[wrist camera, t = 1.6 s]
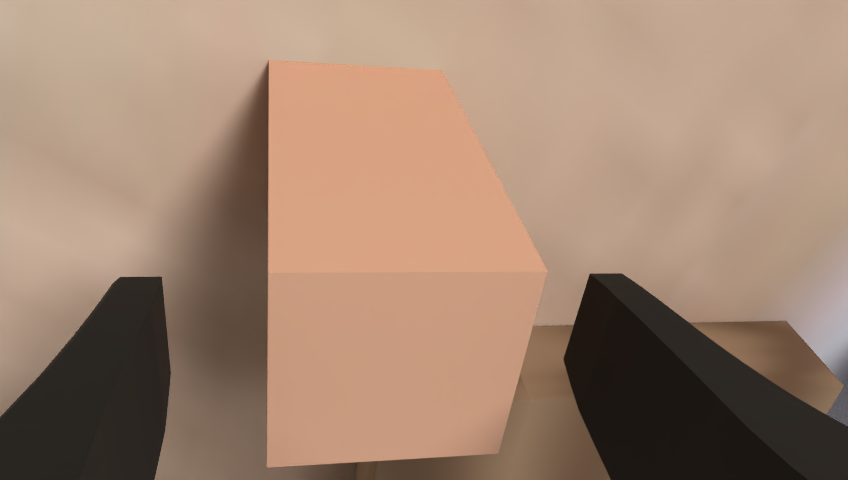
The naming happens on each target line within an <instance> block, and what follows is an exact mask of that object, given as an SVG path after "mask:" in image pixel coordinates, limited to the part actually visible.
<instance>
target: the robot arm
mask: <svg viewBox="0 0 848 480" xmlns="http://www.w3.org/2000/svg"><path fill="white" fill-rule="evenodd" d="M563 360H564V364H565V367H566V371H567V374H568V378H569V381H570V385H571V388H572V391H573V394H574V397H575V400H576V403H577V406H578V410H579V412H580V414H581V416H582V419H583V421H584V423H585V425H586V427H587V430H588V432H589V434H590V436H591V438H592V441H593V443H594V445H595V447H596V449H597V451H598V454H599V456H600V458H601V460H602V462H603V464H604V466H605V468H606V471H607V473H608V475H609V477H610V479H611V480H848V427H847V426H846V425H844V424H842V423H840V422H838V421H836V420H835V419H833V418H831V417H829V416H828V415H826V414H824V413H823V412H821V411H819V410H817V409H816V408H814V407H812V406H811V405H809V404H807V403H805V402H804V401H802V400H800V399H799V398H797V397H795V396H794V395H792V394H790V393H789V392H787V391H786V390H784V389H782V388H781V387H779V386H778V385H776V384H775V383H773V382H772V381H770V380H769V379H767V378H766V377H764V376H763V375H761V374H760V373H758V372H757V371H755V370H754V369H752V368H751V367H749V366H748V365H746V364H745V363H743V362H742V361H741V360H739V359H738V358H736V357H735V356H733V355H732V354H731V353H729V352H728V351H726V350H725V349H724V348H722V347H721V346H719V345H718V344H717V343H715V342H714V341H713V340H711V339H710V338H709V337H707V336H706V335H705V334H703V333H702V332H701V331H699V330H698V329H697V328H695V327H694V326H693V325H691V324H690V323H689V322H687V321H686V320H685V319H683V318H682V317H681V316H679V315H678V314H677V313H675V312H674V311H673V310H671V309H670V308H669V307H668V306H666V305H665V304H664V303H662V302H661V301H660V300H658V299H657V298H656V297H654V296H653V295H652V294H650V293H649V292H648V291H646V290H645V289H643V288H642V287H641V286H639V285H638V284H636V283H635V282H634V281H632V280H631V279H629V278H628V277H626V276H625V275H623V274H590V275H589V278H588V281H587V285H586V288H585V291H584V294H583V298H582V301H581V304H580V307H579V310H578V314H577V317H576V320H575V323H574V326H573V330H572V333H571V336H570V339H569V342H568V346H567V349H566V352H565V355H564V358H563ZM170 374H171V371H170V361H169V350H168V339H167V329H166V318H165V308H164V297H163V286H162V277H120V278H119V279H117V280H116V281H115V282H114V283H113V284H112V285H111V287H110V288H109V290H108V291H107V292H106V294H105V295H104V297H103V298H102V299H101V301H100V302H99V303H98V305H97V306H96V307H95V309H94V310H93V311H92V313H91V314H90V315H89V317H88V318H87V319H86V321H85V322H84V323H83V324H82V326H81V327H80V328H79V329H78V331H77V332H76V333H75V335H74V336H73V337H72V338H71V339H70V341H69V342H68V343H67V344H66V345H65V346H64V348H63V349H62V350H61V351H60V352H59V354H58V355H57V356H56V357H55V358H54V359H53V361H52V362H51V363H50V364H49V365H48V367H47V368H46V369H45V370H44V371H43V372H42V373H41V375H40V376H39V377H38V378H37V379H36V380H35V381H34V382H33V383H32V384H31V385H30V386H29V387H28V388H27V390H26V391H25V392H24V393H23V394H22V395H21V396H20V397H19V398H18V399H17V400H16V401H15V402H14V403H13V404H12V405H11V406H10V407H9V409H8V410H7V411H6V412H5V413H4V414H3V415H2V416H1V417H0V480H154V479H155V474H156V470H157V465H158V461H159V456H160V451H161V447H162V442H163V438H164V433H165V426H166V416H167V407H168V396H169V385H170Z"/></svg>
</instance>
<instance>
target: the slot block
mask: <svg viewBox="0 0 848 480" xmlns="http://www.w3.org/2000/svg"><path fill="white" fill-rule="evenodd" d="M690 324H691V325H693V326H694V327H695V328H697V329H698V330H699V331H701V332H702V333H703V334H705V335H706V336H707V337H709V338H710V339H711V340H713V341H714V342H715V343H717V344H718V345H719V346H721V347H722V348H724V349H725V350H726V351H728V352H729V353H731V354H732V355H733V356H735V357H736V358H738V359H739V360H741V361H742V362H743V363H745V364H746V365H748V366H749V367H751V368H752V369H754V370H755V371H757V372H758V373H760V374H761V375H763V376H764V377H766V378H767V379H769V380H770V381H772V382H773V383H775V384H776V385H778V386H779V387H781V388H782V389H784V390H786V391H787V392H789V393H790V394H792V395H794V396H795V397H797V398H799V399H800V400H802V401H804V402H805V403H807V404H809V405H811V406H812V407H814V408H816V409H817V410H819V411H821V412H823V413H824V414H826V415H827V413H828V411H829V410H830V408H831V407H832V405H833V403H834V402H835V400H836V398H837V397H838V395H839V394H840V392H841V390H842V389H843V387H844V385H843V384H842V383H841V382H840V381H839V380H838V378H837V377H836V376H835V375H834V374H833V373H832V372H831V371H830V370H829V368H828V367H827V366H826V365H825V364H824V363H823V362H822V361H821V359H820V358H819V357H818V356H817V355H816V354H815V353H814V352H813V350H812V349H811V348H810V347H809V346H808V345H807V344H806V343H805V341H804V340H803V339H802V338H801V337H800V336H799V335H798V334H797V332H796V331H795V330H794V329H793V328H792V327H791V326H790V325H789V324H788V322H787V321H769V322H721V323H690ZM572 330H573V326H533V328H532V331H531V335H530V339H529V342H528V346H527V350H526V353H525V357H524V361H523V365H522V368H521V372H520V376H519V379H518V383H517V387H516V390H515V394H514V398H513V402H512V405H511V409H510V413H509V416H508V420H507V424H506V427H505V431H504V435H503V439H502V442H501V446H500V450H499V453H498V454H484V455H468V456H451V457H435V458H418V459H402V460H385V461H368V462H357V466H356V475H355V480H611V479H610V477H609V475H608V473H607V471H606V468H605V466H604V464H603V462H602V460H601V458H600V456H599V454H598V451H597V449H596V447H595V445H594V443H593V441H592V438H591V436H590V434H589V432H588V430H587V427H586V425H585V423H584V421H583V419H582V416H581V414H580V412H579V410H578V406H577V403H576V400H575V397H574V394H573V391H572V388H571V385H570V381H569V378H568V374H567V371H566V367H565V364H564V360H563V358H564V355H565V352H566V349H567V346H568V342H569V339H570V336H571V333H572Z"/></svg>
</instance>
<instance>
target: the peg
mask: <svg viewBox="0 0 848 480" xmlns="http://www.w3.org/2000/svg"><path fill="white" fill-rule="evenodd" d="M547 272H548V271H547V269H546V268H545V266H544V264H543V262H542V260H541V258H540V256H539V254H538V252H537V250H536V249H535V247H534V245H533V243H532V241H531V239H530V237H529V235H528V233H527V231H526V229H525V228H524V226H523V224H522V222H521V220H520V218H519V216H518V214H517V212H516V210H515V209H514V207H513V205H512V203H511V201H510V199H509V197H508V195H507V193H506V191H505V190H504V188H503V186H502V184H501V182H500V180H499V178H498V176H497V174H496V172H495V171H494V169H493V167H492V165H491V163H490V161H489V159H488V157H487V155H486V153H485V152H484V150H483V148H482V146H481V144H480V142H479V140H478V138H477V136H476V134H475V132H474V131H473V129H472V127H471V125H470V123H469V121H468V119H467V117H466V115H465V113H464V112H463V110H462V108H461V106H460V104H459V102H458V100H457V98H456V96H455V94H454V93H453V91H452V89H451V87H450V85H449V83H448V81H447V79H446V77H445V75H444V74H443V72H442V70H428V69H410V68H393V67H375V66H358V65H341V64H323V63H306V62H288V61H271V60H269V111H268V302H267V468H269V467H286V466H302V465H319V464H335V463H352V462H368V461H385V460H402V459H418V458H435V457H451V456H468V455H484V454H498V453H499V450H500V446H501V442H502V439H503V435H504V431H505V427H506V424H507V420H508V416H509V413H510V409H511V405H512V402H513V398H514V394H515V390H516V387H517V383H518V379H519V376H520V372H521V368H522V365H523V361H524V357H525V353H526V350H527V346H528V342H529V339H530V335H531V331H532V328H533V324H534V320H535V316H536V313H537V309H538V305H539V302H540V298H541V294H542V291H543V287H544V283H545V279H546V276H547Z"/></svg>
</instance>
